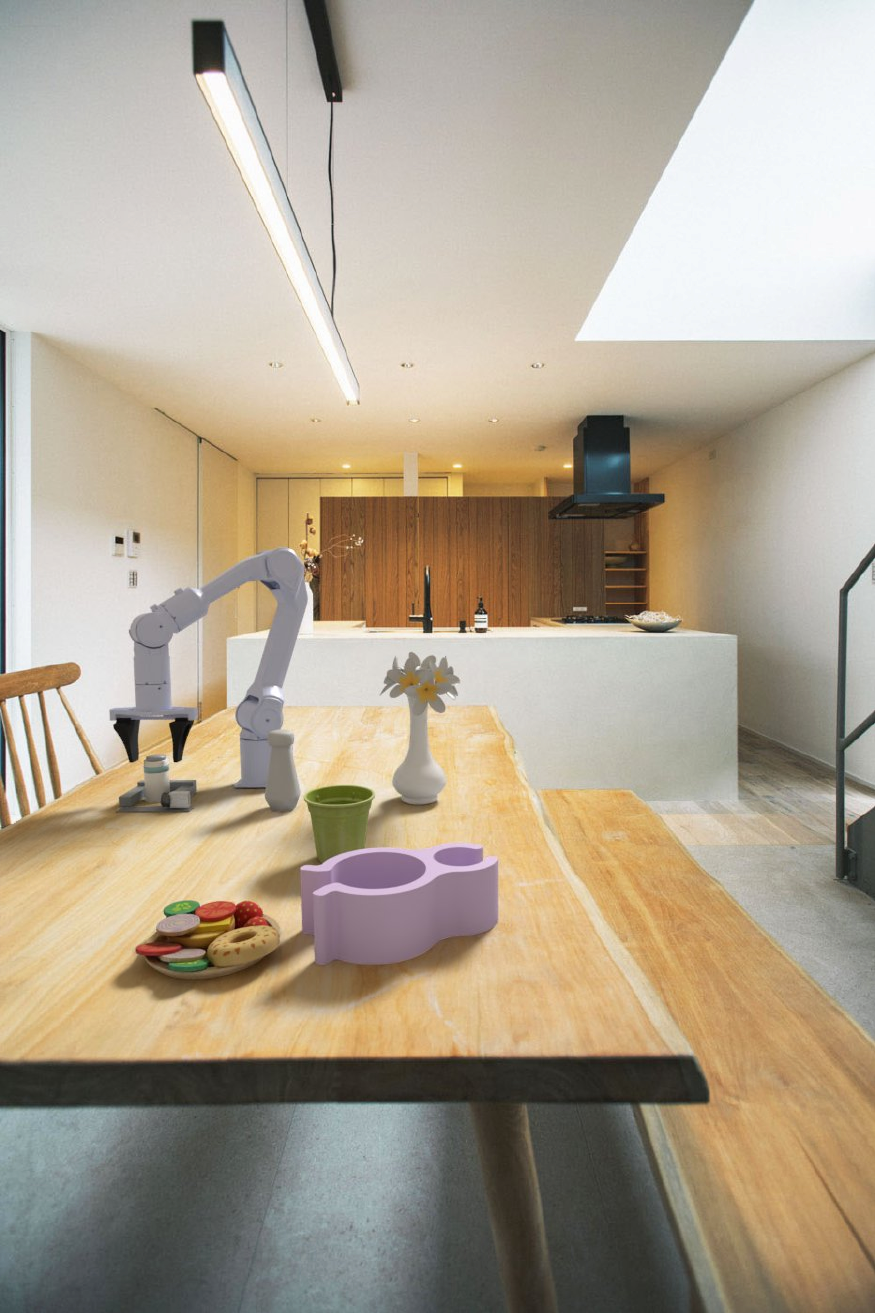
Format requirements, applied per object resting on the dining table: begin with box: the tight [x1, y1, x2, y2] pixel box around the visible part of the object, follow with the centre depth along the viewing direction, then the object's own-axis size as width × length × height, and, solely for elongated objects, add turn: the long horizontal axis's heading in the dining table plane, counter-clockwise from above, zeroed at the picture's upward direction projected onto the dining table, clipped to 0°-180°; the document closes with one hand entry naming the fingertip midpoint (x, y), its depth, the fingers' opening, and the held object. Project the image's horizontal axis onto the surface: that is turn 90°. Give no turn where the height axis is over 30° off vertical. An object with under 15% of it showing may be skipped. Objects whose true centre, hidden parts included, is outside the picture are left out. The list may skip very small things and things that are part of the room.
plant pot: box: [303, 784, 376, 864], centre depth 92 cm, size 9×9×9 cm
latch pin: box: [160, 791, 192, 808], centre depth 114 cm, size 4×2×2 cm, turn 89°
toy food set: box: [135, 899, 282, 980], centre depth 68 cm, size 13×13×3 cm
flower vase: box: [379, 651, 461, 806], centre depth 117 cm, size 13×18×25 cm
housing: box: [115, 779, 197, 813], centre depth 118 cm, size 13×12×2 cm
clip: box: [299, 842, 499, 966], centre depth 72 cm, size 20×12×7 cm, turn 112°
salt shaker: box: [264, 728, 302, 813], centre depth 114 cm, size 6×6×13 cm
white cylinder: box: [143, 753, 171, 803], centre depth 120 cm, size 4×4×8 cm
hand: (155, 761), depth 119 cm, fingers open, 7 cm apart
